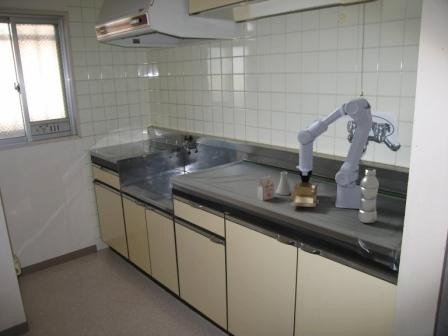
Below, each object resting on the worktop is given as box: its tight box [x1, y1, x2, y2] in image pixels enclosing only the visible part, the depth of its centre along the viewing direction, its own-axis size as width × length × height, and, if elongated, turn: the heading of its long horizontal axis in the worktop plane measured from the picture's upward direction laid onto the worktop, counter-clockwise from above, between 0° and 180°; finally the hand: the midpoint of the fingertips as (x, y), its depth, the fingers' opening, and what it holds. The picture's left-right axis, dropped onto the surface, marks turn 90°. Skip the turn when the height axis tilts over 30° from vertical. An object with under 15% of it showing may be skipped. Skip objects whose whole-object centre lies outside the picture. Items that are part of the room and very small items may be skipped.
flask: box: [275, 171, 292, 196], centre depth 175 cm, size 7×7×10 cm
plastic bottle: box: [357, 167, 380, 224], centre depth 138 cm, size 6×7×20 cm
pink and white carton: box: [256, 175, 275, 202], centre depth 169 cm, size 4×7×10 cm, turn 125°
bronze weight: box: [297, 181, 313, 197], centre depth 162 cm, size 6×6×4 cm
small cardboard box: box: [289, 181, 318, 208], centre depth 163 cm, size 10×22×3 cm, turn 165°
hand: (305, 186), depth 169 cm, fingers closed
